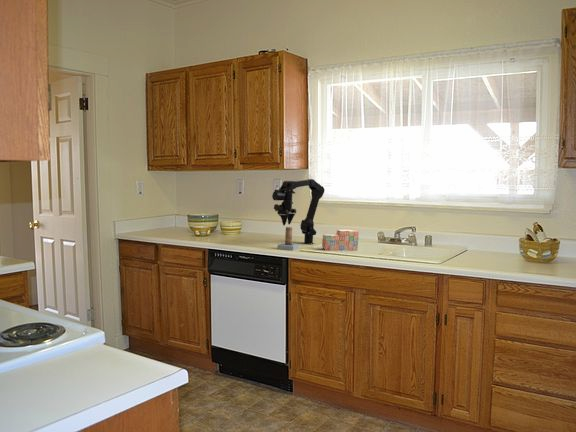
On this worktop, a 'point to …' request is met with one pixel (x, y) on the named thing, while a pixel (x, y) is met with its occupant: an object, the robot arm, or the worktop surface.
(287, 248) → the bead block
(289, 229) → the dowel
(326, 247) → the stack of blocks
